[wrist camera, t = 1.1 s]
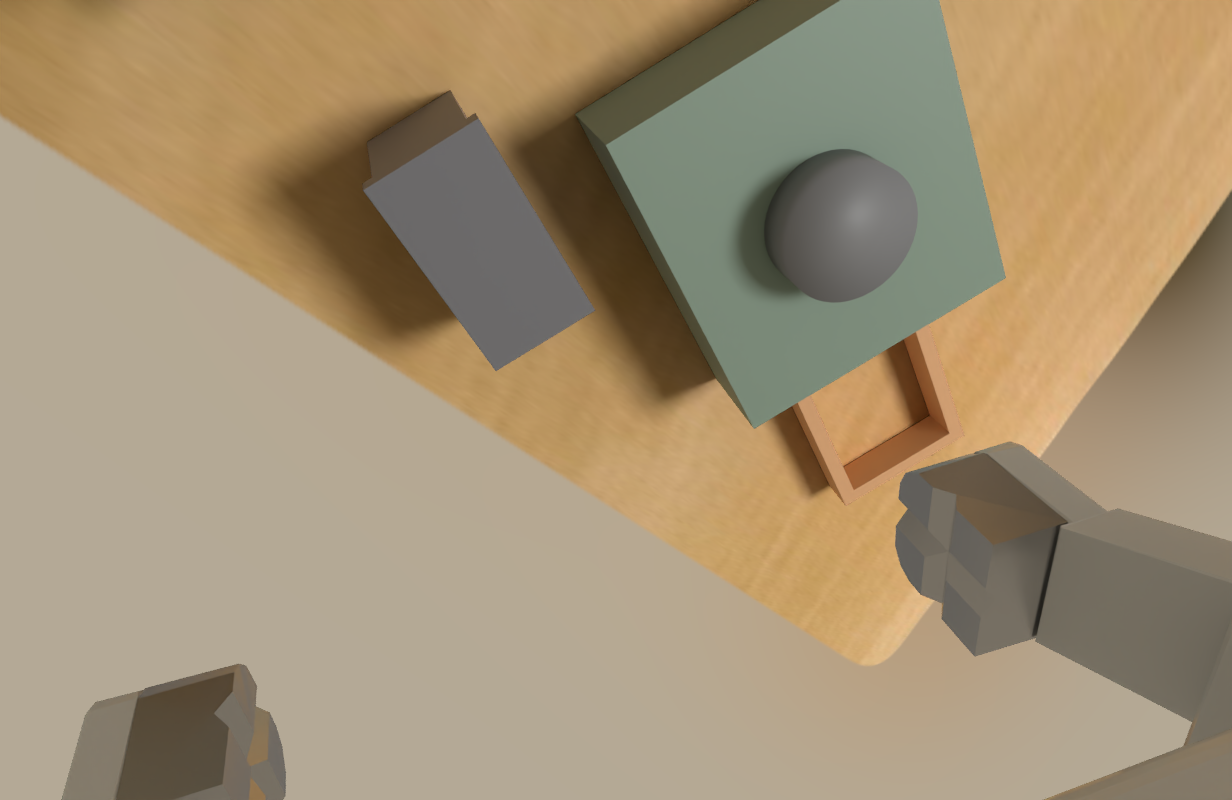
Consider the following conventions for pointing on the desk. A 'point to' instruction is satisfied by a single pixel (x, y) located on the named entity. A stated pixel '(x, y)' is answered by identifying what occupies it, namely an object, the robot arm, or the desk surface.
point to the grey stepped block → (472, 230)
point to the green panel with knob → (809, 205)
